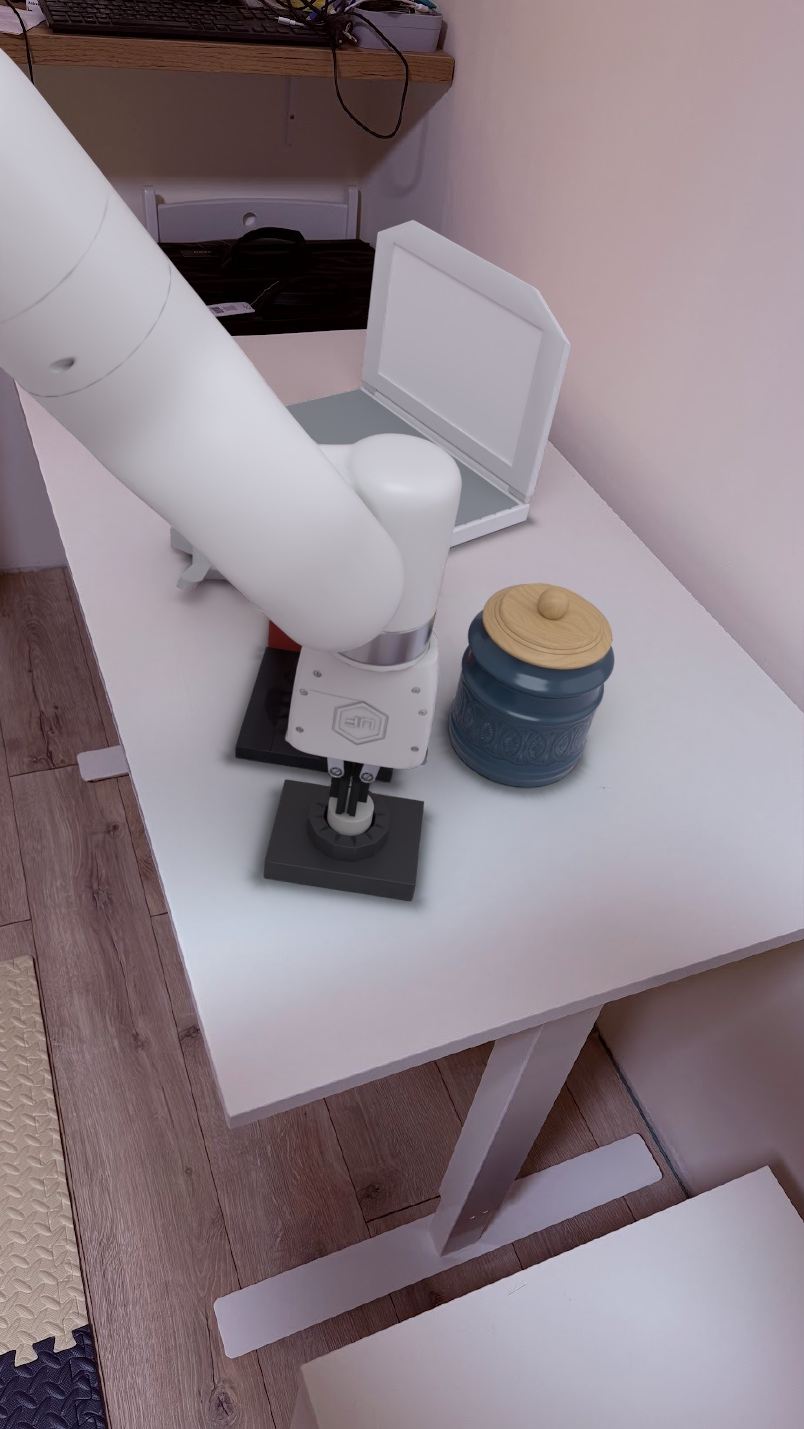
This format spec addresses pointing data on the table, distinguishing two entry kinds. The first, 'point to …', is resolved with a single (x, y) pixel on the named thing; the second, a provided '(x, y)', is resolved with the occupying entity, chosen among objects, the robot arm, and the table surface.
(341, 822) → the button
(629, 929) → the table surface
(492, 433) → the laptop
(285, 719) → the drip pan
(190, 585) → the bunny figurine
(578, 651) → the canister
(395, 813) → the control block
